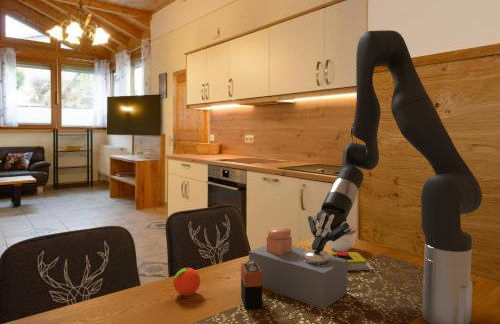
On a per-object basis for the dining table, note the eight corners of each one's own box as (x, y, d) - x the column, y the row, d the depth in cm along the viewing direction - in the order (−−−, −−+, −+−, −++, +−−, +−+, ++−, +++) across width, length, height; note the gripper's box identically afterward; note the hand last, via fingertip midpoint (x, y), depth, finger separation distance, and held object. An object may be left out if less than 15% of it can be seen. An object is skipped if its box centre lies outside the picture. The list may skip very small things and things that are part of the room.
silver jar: (332, 286, 98) (333, 252, 98) (319, 294, 94) (320, 259, 93) (311, 280, 103) (312, 247, 102) (298, 287, 98) (298, 253, 97)
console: (347, 293, 99) (347, 260, 98) (323, 309, 90) (323, 273, 89) (275, 270, 115) (275, 242, 114) (249, 282, 106) (249, 251, 105)
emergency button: (318, 249, 124) (362, 248, 125) (318, 262, 124) (362, 260, 125) (327, 258, 114) (374, 257, 116) (327, 272, 115) (374, 271, 116)
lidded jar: (339, 255, 129) (339, 228, 128) (319, 247, 139) (319, 222, 138) (361, 250, 134) (362, 224, 134) (341, 242, 144) (341, 218, 143)
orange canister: (295, 261, 106) (295, 229, 105) (281, 267, 101) (281, 234, 101) (277, 256, 110) (277, 225, 110) (263, 261, 106) (263, 230, 105)
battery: (257, 296, 97) (257, 258, 96) (262, 308, 90) (263, 268, 90) (240, 297, 96) (240, 259, 95) (245, 310, 90) (245, 269, 89)
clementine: (181, 304, 93) (181, 276, 92) (164, 296, 97) (164, 269, 97) (205, 293, 99) (205, 267, 98) (188, 286, 103) (188, 261, 103)
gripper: (315, 187, 108) (289, 238, 100) (358, 193, 99) (333, 248, 91) (324, 203, 112) (299, 253, 104) (366, 210, 103) (343, 264, 95)
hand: (315, 251), depth 97 cm, fingers closed
